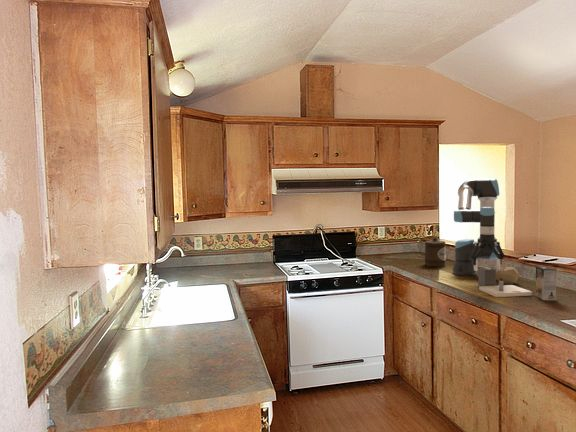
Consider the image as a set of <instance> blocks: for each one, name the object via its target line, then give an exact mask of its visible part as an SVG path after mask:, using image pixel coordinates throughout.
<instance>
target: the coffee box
mask: <svg viewBox="0 0 576 432" xmlns="http://www.w3.org/2000/svg"><path fill="white" fill-rule="evenodd" d="M556 291H557V268H554V267H551V266H550V265H540V266H539V265H537V266H535V297H537V298H539V299H541V300H542V301H557V300H556V299H557V297H556V296H557V293H556Z"/></svg>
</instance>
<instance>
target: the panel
mask: <svg viewBox="0 0 576 432" xmlns="http://www.w3.org/2000/svg"><path fill="white" fill-rule="evenodd" d="M478 289H479V291H481V292H483V293H486V294H488V295H491V296H492V297H495V298H502V297H503V298H504V297H506V298H507V297H524V296H525V297H526V296H527V297H528V296H533V291H531V290H528V289H525V288H523V287H520V286H517V285H514V284H504V282H503V281H498V285H496V286H479V287H478Z"/></svg>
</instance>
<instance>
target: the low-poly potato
mask: <svg viewBox="0 0 576 432" xmlns="http://www.w3.org/2000/svg"><path fill="white" fill-rule="evenodd" d="M519 275H520V274H519V272H518V270H517V269H516V268H515V267H513V266H512V267H511V266H506V267H505V268H504V269H503V270H497V271H496V282H497V281H498V282H499V281H503V282H504V285H514V283H515V284H516V282H517V281H518V279H519Z"/></svg>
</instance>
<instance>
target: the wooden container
mask: <svg viewBox="0 0 576 432" xmlns="http://www.w3.org/2000/svg"><path fill="white" fill-rule="evenodd" d="M424 246H425V247H424V266H426V265H427V267H431V266H436V267H435V268H442V266H443V267H446V241H445V240H438V237H437V236H433V237H432V240H426V241H425V242H424Z"/></svg>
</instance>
